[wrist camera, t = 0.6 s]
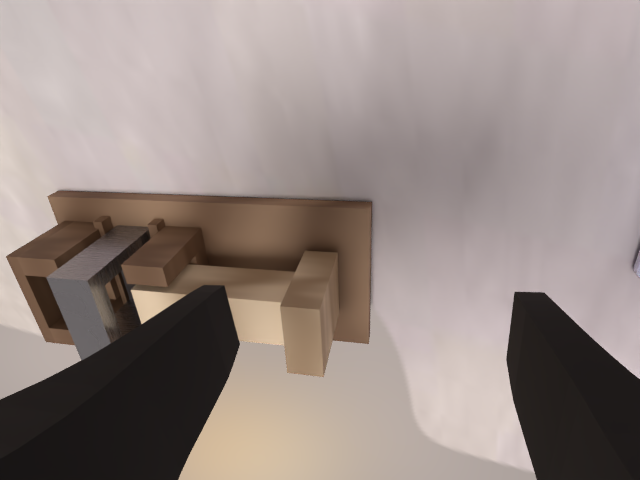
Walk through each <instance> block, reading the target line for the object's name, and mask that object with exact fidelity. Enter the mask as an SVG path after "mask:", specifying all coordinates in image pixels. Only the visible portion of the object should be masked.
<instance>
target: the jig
mask: <svg viewBox="0 0 640 480" xmlns="http://www.w3.org/2000/svg"><path fill="white" fill-rule="evenodd" d="M47 197H48V199H49V202H50V204H51V207H52V210H53V212H54V215H55V217H56V220H57V223H58V225H57V226H55V227H53V228H52V229H50V230H49V231H47V232H45V233H44V234H42V235H40V236H39V237H37V238H35V239H34V240H32V241H31V242H29V243H27V244H26V245H24V246H22V247H21V248H19V249H17V250H16V251H14V252H12V253H11V254H9V255H8V256H6V258H7V260H8V262H9V264H10V266H11V268H12V270H13V273H14V275H15V277H16V279H17V281H18V283H19V285H20V288H21V290H22V292H23V294H24V296H25V298H26V300H27V302H28V305H29V307H30V309H31V311H32V313H33V315H34V317H35V320H36V322H37V324H38V326H39V328H40V330H41V332H42V335H43V337H44V339H45V341H46V342H52V343H60V344H69V345H75V344H74V341H73V339H72V337H71V334H70V332H69V330H68V327H67V325H66V322H65V320H64V318H63V315H62V313H61V311H60V308H59V306H58V304H57V301H56V299H55V297H54V294H53V292H52V290H51V287H50V285H49V283H48V280H47V278H46V277H47V276H49V275H50V274H52V273H53V272H54V271H56V270H57V269H58V268H60V267H61V266H62V265H64V264H65V263H67V262H68V261H69V260H71V259H72V258H73V257H75V256H76V255H77V254H79V253H80V252H82V251H83V250H84V249H86V248H87V247H88V246H90V245H91V244H92V243H94V242H95V241H97V240H98V239H99V238H101V237H102V236H103V235H105V234H106V233H107V232H109V231H110V230H112V229H113V228H114V227H116V226H117V225H125V226H144V227H148V229H149V233H150V237H151V239H150V240H149V241H148V242H146V243H145V244H144V245H143V246H142V247H141V248H140V249H138V250H137V251H136V252H135V253H134V254H133V255H132V256H130V257H129V258H128V259H127V260H126V261H125V262H124V263H122V264H121V266H122V270H123V273H124V276H125V279H126V282H127V284H136V285H148V286H160V287H168V286H169V285H170V284H171V283H172V282H173V280H174V279H175V278H176V277H177V276H178V275H179V274H180V273H181V271H182V270H183V269H184V268H185V267H186V266H187V265H188V264H190V265H204V266H219V267H233V268H247V269H262V270H276V271H290V272H296V269H297V267H298V265H299V263H300V260H301V258H302V256H303V254H304V252H305V251H320V252H336V253H338V283H339V316H338V320H337V324H336V328H335V332H334V337H333V340H335V341H345V342H356V343H365V344H369V337H370V292H371V225H372V202H358V201H330V200H302V199H274V198H246V197H218V196H190V195H162V194H134V193H106V192H79V191H57V192H55V193H53V194H51V195H49V196H47ZM105 287H106V290H107V293H108V296H109V299H110V301H111V304H112V307H113V310H114V313H116V312H117V311H118V310H119V309H120V308H121V307H122V306H123V305H124V304H125V303H126V302H127V301H128V300H129V296H128V292H127V289H126V286H125V283H124V280H123V277H122V274H121V272H120V273H119V274H117V275H116V276H115V277H114V278H113V279H112V280H111V281H110V282H109V283H107V284H106V285H105Z"/></svg>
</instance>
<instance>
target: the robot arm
mask: <svg viewBox="0 0 640 480" xmlns="http://www.w3.org/2000/svg"><path fill="white" fill-rule="evenodd" d="M634 272H635V274H636V275H637V276H638V277H639V278H640V251H639V254H638V257H637V259H636V262H635V265H634ZM239 345H240V343H239V339H238V335H237V331H236V327H235V324H234V320H233V316H232V312H231V308H230V305H229V301H228V297H227V293H226V290H225V286H224V285H203V286H201V287H199V288H197V289H195V290H194V291H192V292H190V293H189V294H187V295H186V296H184V297H183V298H181V299H179V300H178V301H176V302H175V303H173V304H172V305H170V306H169V307H167V308H166V309H164V310H163V311H161V312H160V313H158V314H157V315H155V316H154V317H152V318H150V319H149V320H147V321H146V322H144V323H143V324H141V325H140V326H138V327H137V328H135V329H134V330H132V331H130V332H129V333H127V334H125V335H124V336H122V337H120V338H119V339H117V340H116V341H114V342H112V343H111V344H109V345H107V346H106V347H104V348H102V349H101V350H99V351H97V352H96V353H94V354H92V355H90V356H89V357H87V358H85V359H83V360H81V361H80V362H78V363H76V364H74V365H72V366H70V367H68V368H66V369H64V370H63V371H61V372H59V373H57V374H55V375H53V376H51V377H49V378H47V379H45V380H43V381H41V382H38V383H36V384H34V385H32V386H30V387H27V388H25V389H23V390H21V391H18V392H16V393H14V394H12V395H10V396H7V397H5V398H3V399H1V400H0V480H178V479H179V476H180V474H181V471H182V469H183V467H184V465H185V463H186V461H187V458H188V456H189V454H190V452H191V450H192V448H193V446H194V444H195V442H196V441H197V438H198V437H199V435H200V433H201V431H202V429H203V427H204V425H205V423H206V421H207V419H208V417H209V415H210V413H211V411H212V409H213V407H214V405H215V403H216V401H217V399H218V397H219V395H220V394H221V392H222V390H223V387H224V386H225V383H226V381H227V379H228V377H229V374H230V372H231V369H232V366H233V363H234V360H235V357H236V354H237V351H238V348H239ZM506 360H507V366H508V372H509V379H510V384H511V390H512V396H513V401H514V404H515V408H516V411H517V415H518V418H519V421H520V425H521V428H522V432H523V435H524V438H525V442H526V445H527V448H528V452H529V455H530V458H531V461H532V465H533V468H534V471H535V475H536V478H537V480H640V379H639V378H637V377H636V376H635V375H634V374H632V373H631V372H630V371H629V370H627V369H626V368H625V367H624V366H623V365H622V364H620V363H619V362H618V361H617V360H616V359H615V358H613V357H612V356H611V355H610V354H609V353H608V352H607V351H606V350H604V349H603V348H602V347H601V346H600V345H599V344H598V343H597V342H595V341H594V340H593V339H592V338H591V337H590V336H589V335H588V334H587V333H586V332H585V331H584V330H583V329H582V328H581V327H579V326H578V325H577V324H576V323H575V322H574V321H573V320H572V319H571V318H570V317H569V316H568V315H567V314H566V313H565V312H564V311H563V310H562V309H561V308H560V307H559V306H558V305H557V304H556V303H555V302H553V301H552V300H551V299H550V298H549V297H548V296H547V295H546V294H545V293H542V292H515V294H514V302H513V310H512V318H511V326H510V334H509V343H508V351H507V359H506Z"/></svg>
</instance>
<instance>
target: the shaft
mask: <svg viewBox="0 0 640 480" xmlns="http://www.w3.org/2000/svg"><path fill="white" fill-rule="evenodd" d="M203 285H224V286H225V290H226V293H227V297H228V301H229V305H230V308H231V312H232V316H233V320H234V324H235V327H236V331H237V335H238V339H239V341H247V342H256V343H266V344H275V345H284V346H285V355H286V364H287V373H294V374H303V375H312V376H320V377H323V376H324V373H325V369H326V365H327V361H328V356H329V353H330V349H331V345H332V341H333V337H334V332H335V328H336V324H337V320H338V316H339V283H338V253H336V252H320V251H305V252H304V254H303V256H302V258H301V260H300V263H299V265H298V267H297V269H296V272H290V271H276V270H262V269H247V268H233V267H219V266H204V265H190V264H188V265H187V266H186V267H185V268H184V269H183V270H182V271H181V273H180V274H179V275H178V276H177V277H176V278H175V279H174V280H173V282H172V283H171V284H170V285H169V286H168V287H160V286H148V285H135V286H134V287H133V288H132V289H131V293H132V296H133V299H134V302H135V305H136V308H137V311H138V315H139V318H140V321H141V324H143V323H144V322H146V321H147V320H149V319H150V318H152V317H154V316H155V315H157V314H158V313H160V312H161V311H163V310H164V309H166V308H167V307H169V306H170V305H172V304H173V303H175V302H176V301H178V300H179V299H181V298H183V297H184V296H186V295H187V294H189V293H190V292H192V291H194V290H195V289H197V288H199V287H201V286H203Z"/></svg>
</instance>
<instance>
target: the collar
mask: <svg viewBox="0 0 640 480" xmlns="http://www.w3.org/2000/svg"><path fill="white" fill-rule="evenodd" d="M150 239H151V237H150V233H149V229H148V227H144V226H125V225H117V226H116V227H114V228H113V229H112V230H110V231H109V232H107V233H106V234H105V235H103V236H102V237H101V238H99V239H98V240H97V241H95V242H94V243H92V244H91V245H90V246H88V247H87V248H86V249H84V250H83V251H82V252H80V253H79V254H77V255H76V256H75V257H73V258H72V259H71V260H69V261H68V262H67V263H65V264H64V265H62V266H61V267H60V268H58V269H57V270H56V271H54V272H53V273H52V274H50V275H49V276H47V277H46V278H47V280H48V283H49V285H50V287H51V290H52V292H53V294H54V297H55V299H56V301H57V304H58V306H59V308H60V311H61V313H62V315H63V318H64V320H65V322H66V325H67V327H68V330H69V332H70V334H71V337H72V339H73V341H74V344H75V346H76V348H77V351H78V353H79V355H80V358H81V360H83V359H85V358H87V357H89V356H90V355H92V354H94V353H96V352H97V351H99V350H101V349H102V348H104V347H106V346H107V345H109V344H111V343H112V342H114V341H116V340H117V339H119V338H120V337H122V336H124V335H125V334H127V333H129V332H130V331H132V330H134V329H135V328H137V327H138V326H140V325H141V321H140V318H139V315H138V311H137V308H136V305H135V302H134V299H133V296H132V293H131V289H132V288H133V287H134V286H135V285H136V284H127V282H126V279H125V276H124V273H123V270H122V266H121V264H122V263H124V262H125V261H126V260H127V259H128V258H129V257H130V256H132V255H133V254H134V253H135V252H136V251H137V250H138V249H140V248H141V247H142V246H143V245H144V244H145V243H146V242H148V241H149V240H150ZM120 272H121V274H122V277H123V280H124V283H125V286H126V289H127V292H128V296H129V300H128V301H127V302H126V303H125V304H124V305H123V306H122V307H121V308H120V309H119V310H118V311H117V312H116V313H114V310H113V307H112V304H111V301H110V299H109V296H108V293H107V290H106V287H105V285H106V284H107V283H109V282H110V281H111V280H112V279H113V278H114V277H115V276H116V275H117V274H119V273H120Z"/></svg>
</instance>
